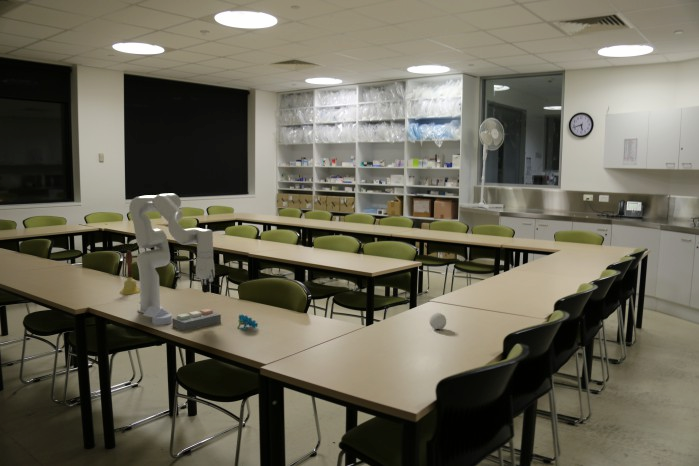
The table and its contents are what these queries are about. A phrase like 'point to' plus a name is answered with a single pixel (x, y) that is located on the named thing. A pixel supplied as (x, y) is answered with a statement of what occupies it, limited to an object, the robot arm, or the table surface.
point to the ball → (437, 321)
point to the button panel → (197, 321)
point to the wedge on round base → (158, 316)
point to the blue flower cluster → (246, 322)
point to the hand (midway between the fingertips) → (206, 291)
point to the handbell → (129, 278)
